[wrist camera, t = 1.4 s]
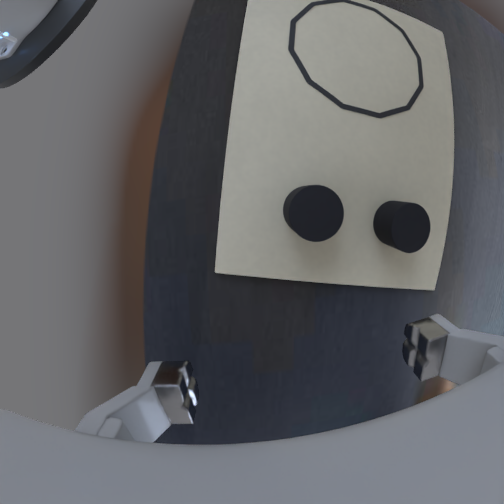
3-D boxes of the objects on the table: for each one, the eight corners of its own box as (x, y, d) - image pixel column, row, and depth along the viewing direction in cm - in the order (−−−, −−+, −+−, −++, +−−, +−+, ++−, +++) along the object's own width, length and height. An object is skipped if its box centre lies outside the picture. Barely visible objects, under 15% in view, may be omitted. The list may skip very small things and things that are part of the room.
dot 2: (280, 231, 23) (285, 239, 19) (285, 182, 22) (292, 181, 18) (327, 237, 23) (339, 244, 19) (333, 189, 22) (347, 189, 19)
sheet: (215, 271, 24) (214, 273, 23) (252, -19, 18) (252, -23, 17) (431, 288, 25) (435, 290, 24) (440, 34, 18) (443, 31, 18)
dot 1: (369, 242, 23) (387, 250, 20) (375, 197, 22) (395, 198, 19) (405, 247, 23) (426, 255, 20) (412, 204, 22) (433, 207, 19)
